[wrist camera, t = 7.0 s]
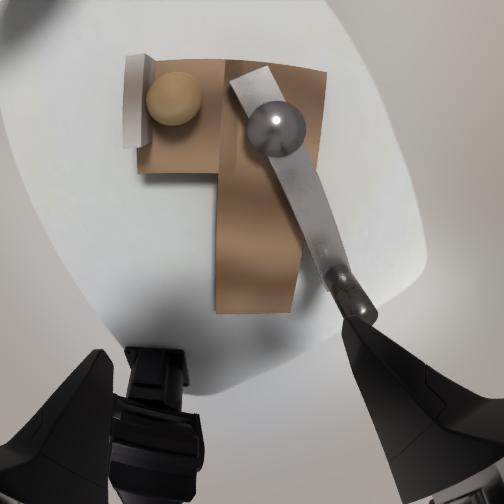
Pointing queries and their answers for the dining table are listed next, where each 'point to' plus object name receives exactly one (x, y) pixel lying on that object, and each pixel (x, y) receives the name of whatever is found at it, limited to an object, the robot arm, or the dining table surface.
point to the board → (226, 165)
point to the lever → (300, 185)
